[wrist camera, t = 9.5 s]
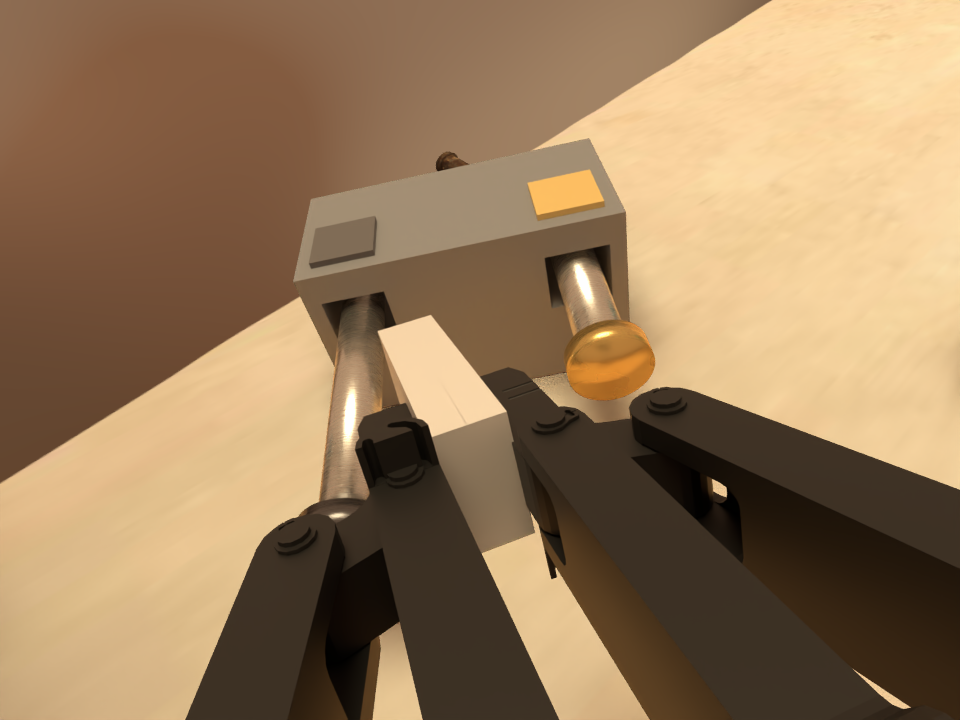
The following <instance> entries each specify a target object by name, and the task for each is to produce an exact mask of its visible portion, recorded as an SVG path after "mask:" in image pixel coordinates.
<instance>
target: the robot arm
mask: <svg viewBox="0 0 960 720" xmlns="http://www.w3.org/2000/svg"><path fill="white" fill-rule="evenodd" d="M378 334H379V338H380V341H381V344H382V348H383V351H384V354H385V357H386V361H387V364H388V367H389V370H390V374H391V377H392V380H393V383H394V387H395V390H396V393H397V396H398V400H399V403H400V405H397V406H394V407H391V408H388V409H385V410H382V411H379V412H376V413H373V414H370V415H367V416H364V417H363V419H362V421H361V423H360V425H359V427H358V429H357V430H358V435H359V439H358V441H357V442H356V446H355V452H356V455H357V457H358V460H359V463H360V466H361V469H362V472H363V475H364V477H365V480H366V483H367V486H368V489H369V496H368V498H367V499H366V501H365V502H364V503H363V505H362V506H361V507H359V508H358V509H357V510H356V511H355V512H354V513H352V514H351V515H349V516H348V517H346V518H345V519H343V520H341V521H340V522H338V523H336V524H335V522H334V521H333V520H332V519H331V518H330V517H329V516H326V515H322V514H309V515H303V516H300V517H297V518H292V519H290V520H288V521H285V523H282V524H280V525H279V526H277V527H276V528H275V529H273V530H272V531H271V532H270V533H269V534H268V535H266V536H265V537H264V538H263V540H262V541H261V543H260V544H259V546H258V547H257V549H256V552H255V554H254V556H253V559H252V561H251V564H250V566H249V568H248V571H247V573H246V576H245V578H244V580H243V583H242V585H241V588H240V590H239V592H238V595H237V597H236V599H235V602H234V604H233V607H232V609H231V611H230V614H229V616H228V619H227V621H226V623H225V626H224V628H223V631H222V633H221V635H220V638H219V640H218V643H217V645H216V647H215V650H214V652H213V655H212V657H211V659H210V662H209V664H208V667H207V669H206V671H205V674H204V676H203V679H202V681H201V683H200V686H199V688H198V691H197V693H196V695H195V698H194V700H193V703H192V705H191V707H190V710H189V712H188V715H187V717H186V719H185V720H372V718H373V709H374V701H375V692H376V684H377V676H378V667H379V659H380V651H381V647H380V639H379V635H381V634H382V633H384V632H385V631H386V630H388V629H389V628H391V627H392V626H394V625H395V624H396V623H398V622H399V621H400V625H401V629H402V633H403V637H404V642H405V646H406V650H407V654H408V659H409V663H410V667H411V671H412V676H413V680H414V684H415V688H416V693H417V697H418V701H419V705H420V710H421V714H422V718H423V720H559V718H558V716H557V714H556V712H555V710H554V708H553V705H552V703H551V701H550V699H549V697H548V695H547V693H546V691H545V688H544V686H543V684H542V682H541V680H540V678H539V676H538V673H537V671H536V669H535V667H534V665H533V663H532V661H531V658H530V656H529V654H528V652H527V650H526V648H525V646H524V643H523V641H522V639H521V637H520V635H519V633H518V631H517V628H516V626H515V624H514V622H513V620H512V618H511V616H510V613H509V611H508V609H507V607H506V605H505V603H504V601H503V599H502V596H501V594H500V592H499V590H498V588H497V586H496V584H495V581H494V579H493V577H492V575H491V573H490V571H489V569H488V566H487V564H486V562H485V560H484V558H483V556H482V554H481V553H483V552H486V551H488V550H491V549H494V548H496V547H499V546H502V545H504V544H507V543H509V542H512V541H515V540H517V539H520V538H523V537H525V536H528V535H530V534H533V533H535V530H534V526H533V522H532V518H531V513H532V515H533V516H534V518H535V520H536V521H537V523H538V524H539V528H540V533H541V537H542V541H543V546H544V550H545V554H546V559H547V563H548V568H549V572H550V575H551V579H554V578H556V577H557V575H556V571H555V568H557V569H558V571H559V573H560V574H561V576H562V577H563V579H564V581H565V582H566V584H567V586H568V587H569V589H570V590H571V592H572V594H573V595H574V597H575V599H576V600H577V602H578V604H579V605H580V607H581V608H582V610H583V612H584V613H585V615H586V617H587V618H588V620H589V621H590V623H591V625H592V626H593V628H594V630H595V631H596V633H597V634H598V636H599V638H600V639H601V641H602V643H603V644H604V646H605V647H606V649H607V651H608V652H609V654H610V656H611V657H612V659H613V660H614V662H615V664H616V665H617V667H618V669H619V670H620V672H621V674H622V675H623V677H624V678H625V680H626V682H627V683H628V685H629V687H630V688H631V690H632V691H633V693H634V695H635V696H636V698H637V700H638V701H639V703H640V704H641V706H642V708H643V709H644V711H645V713H646V714H647V716H648V717H649V719H650V720H960V490H959V489H956V488H953V487H951V486H948V485H945V484H943V483H940V482H937V481H935V480H932V479H929V478H927V477H924V476H921V475H918V474H916V473H913V472H910V471H908V470H905V469H902V468H900V467H897V466H894V465H892V464H889V463H886V462H883V461H881V460H878V459H875V458H873V457H870V456H867V455H865V454H862V453H859V452H857V451H854V450H851V449H848V448H846V447H843V446H840V445H838V444H835V443H832V442H830V441H827V440H824V439H821V438H819V437H816V436H813V435H811V434H808V433H805V432H803V431H800V430H797V429H795V428H792V427H789V426H786V425H784V424H781V423H778V422H776V421H773V420H770V419H768V418H765V417H762V416H760V415H757V414H754V413H751V412H749V411H746V410H743V409H741V408H738V407H735V406H733V405H730V404H727V403H725V402H722V401H719V400H716V399H714V398H711V397H708V396H706V395H703V394H700V393H698V392H695V391H692V390H688V389H683V388H670V387H662V388H660V389H659V388H657V389H653V390H651V391H648V392H646V393H643V394H641V395H639V396H638V397H637V398H635V399H634V400H633V401H632V403H631V405H630V407H629V409H630V416H631V419H624V420H618V421H612V422H603V423H594V422H593V421H592V420H591V419H590V418H589V417H588V416H587V415H586V414H585V413H583V412H581V411H580V410H578V409H576V408H571V407H565V406H563V407H558V406H557V405H556V404H555V403H554V402H553V401H552V400H551V399H550V398H549V397H548V396H547V395H546V394H545V393H544V392H543V391H542V390H541V389H540V388H539V387H538V386H537V385H536V384H535V383H534V382H533V381H532V380H531V379H530V378H529V377H528V376H527V375H526V374H525V372H523V371H519V370H516V369H513V368H510V367H507V368H504V369H501V370H498V371H495V372H492V373H489V374H486V375H483V376H480V377H479V376H478V374H477V373H476V372H475V370H474V369H473V368H472V367H471V365H470V364H469V363H468V362H467V360H466V359H465V358H464V356H463V355H462V354H461V353H460V351H459V350H458V349H457V348H456V346H455V345H454V344H453V342H452V341H451V340H450V339H449V337H448V336H447V335H446V334H445V332H444V331H443V330H442V329H441V327H440V326H439V325H438V323H437V322H436V321H435V320H434V318H433V317H432V316H431V315H429V316H426V317H422V318H419V319H416V320H413V321H409V322H406V323H403V324H400V325H396V326H393V327H390V328H387V329H383V330H380V331H378ZM712 479H714V480H716V481H718V482H720V483H721V484H723V485H724V486H725V487H727V498H726V497H723V496H721V495H719V494H717V493H715V492H713V484H712ZM530 512H531V513H530ZM852 668H853V669H854V670H856V671H857V672H859V673H860V674H862V675H863V676H865V677H866V678H868V679H869V680H871V681H872V682H874V683H875V684H877V685H878V686H880V687H881V688H883V689H884V690H886V691H887V692H889V693H890V694H892V695H893V696H895V697H896V698H898V699H899V700H901V701H902V702H904V703H905V704H907V705H908V706H910V707H911V708H907V709H901V708H899V707H897V706H894V705H892V704H891V703H889V702H888V701H887V700H886V699H884V698H883V697H882V696H880V695H879V694H878V693H877V692H876V691H875V690H874V689H873V688H872V687H871V686H870V685H869V684H868V683H867V682H866V681H865V680H864V679H863V678H861V677H860V676H859V675H858V674H857V673H856V672H855V671H854V670H853V669H852Z"/></svg>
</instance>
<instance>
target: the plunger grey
mask: <svg viewBox="0 0 960 720" xmlns="http://www.w3.org/2000/svg"><path fill="white" fill-rule="evenodd" d="M385 303H386V295H385V293H384V291H383V292H378V293H373V294H368V295H363V296H359V297H354V298H349V299H344V300H342V309H341V317H340V326H339V334H338V343H337V351H336V360H335V368H334V377H333V385H332V394H331V402H330V411H329V419H328V428H327V436H326V445H325V453H324V462H323V470H322V479H321V487H320V496H319V502H318V503H316V504H313V505H311V506H309V507H308V508H306V509H305V510H304V511H303V512H302V513H301V514H300V515H299V517H300V516H303V515H309V514H322V515H326V516H329V517H330V518H331V519H332V520H333V521H334V522H335V524H336V523H338V522H340V521H341V520H343V519H345V518H346V517H348V516H349V515H351V514H352V513H354V512H355V511H356V510H357V509H358V508H359V507H361V506H362V505H363V503H364V502H365V501H366V499H367V498H368V496H369V489H368V486H367V483H366V480H365V477H364V475H363V472H362V469H361V466H360V463H359V460H358V457H357V455H356V452H355V446H356V442H357V441H358V439H359V435H358V430H357V429H358V427H359V425H360V423H361V421H362V419H363V417H364V416H367V415H370V414H373V413H376V412H379V411H382V385H383V357H384V351H383V348H382V344H381V341H380V338H379V334H378V331H380V330H383V329H385Z"/></svg>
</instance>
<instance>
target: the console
mask: <svg viewBox="0 0 960 720" xmlns="http://www.w3.org/2000/svg"><path fill="white" fill-rule="evenodd" d="M590 248H593V249H594V252H595V254H596V257H597V260H598V262H599V265H600V267H601V270H602V272H603V275H604V277H605V280H606V282H607V285H608V288H609V290H610V293H611V295H612V298H613V300H614V303H615V305H616V308H617V311H618V313H619V316H620V318H621V320H624V321H628V322H630V321H629V292H628V262H627V233H626V211H625V209H624V207H623V205H622V203H621V201H620V199H619V197H618V195H617V193H616V191H615V189H614V187H613V185H612V183H611V181H610V179H609V177H608V175H607V173H606V171H605V169H604V167H603V165H602V163H601V161H600V159H599V157H598V155H597V153H596V151H595V149H594V147H593V145H592V143H591V141H590V139H589V138H588V139H584V140H579V141H574V142H570V143H565V144H561V145H556V146H552V147H547V148H543V149H538V150H533V151H529V152H524V153H520V154H516V155H511V156H506V157H502V158H497V159H492V160H488V161H483V162H479V163H475V164H469V165H465V166H460V167H456V168H451V169H447V170H442V171H438V172H433V173H428V174H424V175H419V176H415V177H410V178H406V179H401V180H396V181H392V182H387V183H383V184H378V185H374V186H369V187H365V188H360V189H355V190H351V191H346V192H342V193H337V194H333V195H328V196H323V197H319V198H314V199H311V202H310V207H309V212H308V216H307V221H306V225H305V230H304V235H303V239H302V244H301V248H300V253H299V258H298V263H297V267H296V272H295V277H294V281H293V282H294V285H295V287H296V289H297V290H298V293H299V295H300V297H301V299H302V301H303V303H304V305H305V307H306V309H307V311H308V313H309V315H310V317H311V319H312V321H313V324H314V326H315V328H316V330H317V332H318V334H319V336H320V338H321V340H322V342H323V344H324V346H325V348H326V350H327V352H328V354H329V356H330V358H331V360H332V362H333V365H334V367H335V360H336V351H337V343H338V334H339V326H340V317H341V309H342V300H344V299H349V298H354V297H359V296H363V295H368V294H373V293H378V292H383V291H384V293H385V295H386V303H385V329H387V328H390V327H393V326H396V325H400V324H403V323H406V322H409V321H413V320H416V319H419V318H422V317H426V316H429V315H431V316H432V317H433V318H434V320H435V321H436V322H437V323H438V325H439V326H440V327H441V329H442V330H443V331H444V332H445V334H446V335H447V336H448V337H449V339H450V340H451V341H452V342H453V344H454V345H455V346H456V348H457V349H458V350H459V351H460V353H461V354H462V355H463V356H464V358H465V359H466V360H467V362H468V363H469V364H470V365H471V367H472V368H473V369H474V370H475V372H476V373H477V374H478V376H479V377H480V376H483V375H486V374H489V373H492V372H495V371H498V370H501V369H504V368H507V367H510V368H513V369H516V370H519V371H523V372H525V374H526V375H527V376H528V377H529V378H530V379H532V378H537V377H543V376H548V375H553V374H558V373H563V372H566V368H565V364H564V351H565V348H566V346H567V344H568V343H569V341H570V340H571V339H572V337H573V333H572V329H571V326H570V323H569V319H568V316H567V313H566V309H565V306H564V302H563V299H562V296H561V292H560V289H559V286H558V282H557V279H556V275H555V272H554V269H553V265H552V262H551V259H550V257H551V256H556V255H561V254H566V253H570V252H575V251H580V250H585V249H590ZM399 404H400V403H399V400H398V396H397V393H396V390H395V387H394V383H393V380H392V377H391V374H390V370H389V367H388V364H387V361H386V357H385V354H384V357H383V385H382V408H384V407H389V406H394V405H399Z"/></svg>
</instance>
